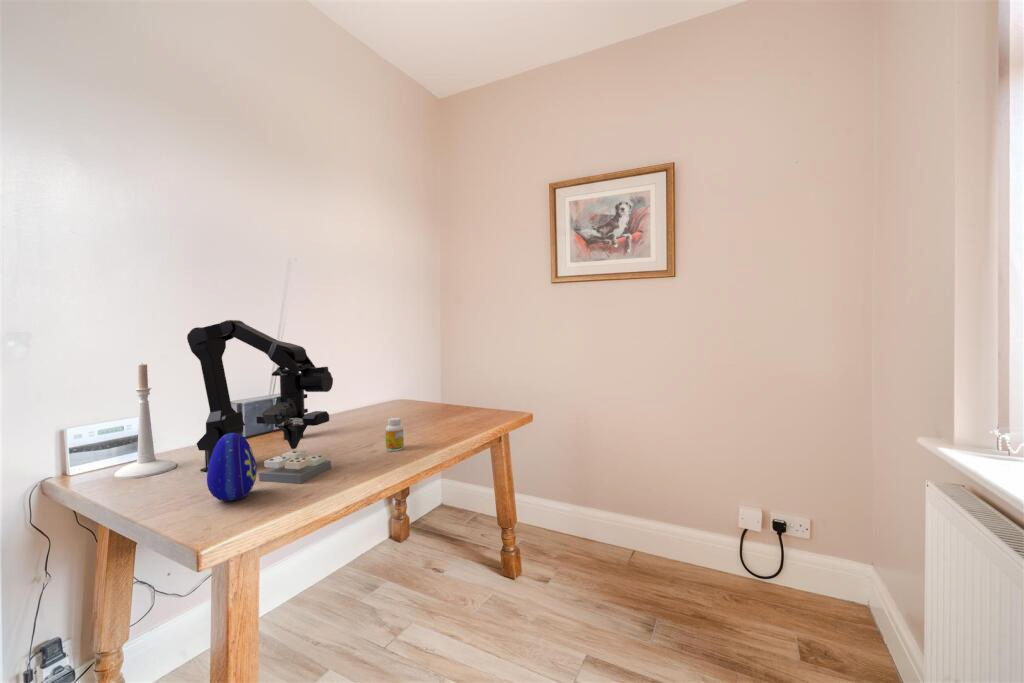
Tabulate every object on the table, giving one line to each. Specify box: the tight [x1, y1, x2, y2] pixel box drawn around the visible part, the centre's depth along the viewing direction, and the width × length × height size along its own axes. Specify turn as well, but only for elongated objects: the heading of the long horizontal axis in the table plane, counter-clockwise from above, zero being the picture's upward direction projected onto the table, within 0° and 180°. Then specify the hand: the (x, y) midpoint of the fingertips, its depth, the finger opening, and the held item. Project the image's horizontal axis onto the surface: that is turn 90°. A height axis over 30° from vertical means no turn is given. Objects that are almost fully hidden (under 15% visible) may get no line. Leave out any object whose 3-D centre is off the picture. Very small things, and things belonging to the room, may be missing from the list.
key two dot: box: [263, 455, 291, 468], centre depth 107 cm, size 4×4×2 cm
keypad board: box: [258, 459, 332, 485], centre depth 109 cm, size 12×12×2 cm
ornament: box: [206, 433, 258, 502], centre depth 93 cm, size 11×9×15 cm
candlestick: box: [114, 363, 177, 480], centre depth 113 cm, size 13×13×30 cm
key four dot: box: [285, 457, 311, 469], centre depth 106 cm, size 4×4×2 cm
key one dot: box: [281, 449, 308, 459], centre depth 113 cm, size 4×4×2 cm
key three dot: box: [306, 454, 327, 466], centre depth 111 cm, size 4×4×2 cm
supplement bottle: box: [385, 417, 405, 452], centre depth 131 cm, size 5×5×10 cm
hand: (293, 448), depth 113 cm, fingers closed
